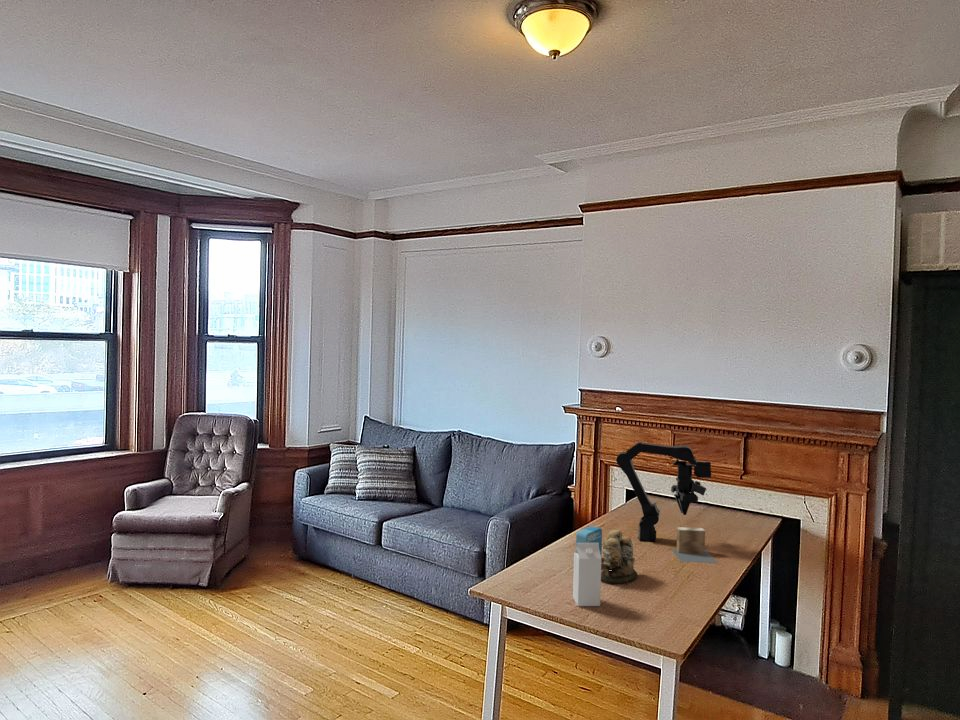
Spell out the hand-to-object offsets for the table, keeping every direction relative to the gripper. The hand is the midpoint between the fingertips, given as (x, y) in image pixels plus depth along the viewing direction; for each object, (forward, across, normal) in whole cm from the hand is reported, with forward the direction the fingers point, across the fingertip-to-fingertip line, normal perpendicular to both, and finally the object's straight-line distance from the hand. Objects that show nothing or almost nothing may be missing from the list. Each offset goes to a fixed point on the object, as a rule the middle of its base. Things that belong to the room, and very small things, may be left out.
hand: (683, 513), depth 266 cm
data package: (+13, -24, +42) cm, 50 cm away
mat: (+13, -16, 0) cm, 20 cm away
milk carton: (+13, -64, +48) cm, 81 cm away
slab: (+12, -11, 0) cm, 17 cm away
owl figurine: (+13, -41, +34) cm, 55 cm away
